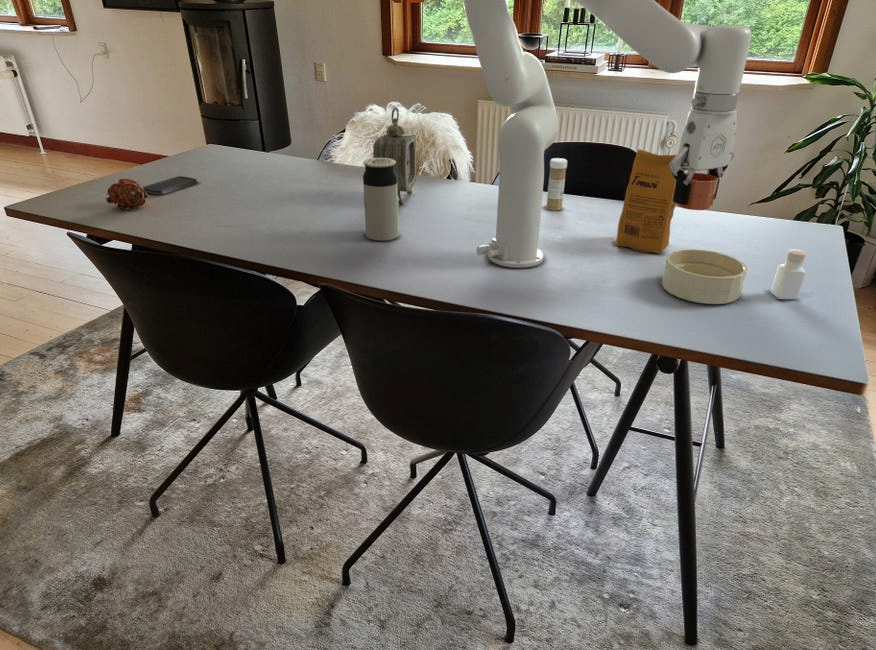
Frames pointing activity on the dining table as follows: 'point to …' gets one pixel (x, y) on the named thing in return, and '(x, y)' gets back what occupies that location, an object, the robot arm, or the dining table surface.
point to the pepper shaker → (789, 276)
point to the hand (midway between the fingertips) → (694, 199)
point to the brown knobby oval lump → (126, 194)
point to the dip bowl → (701, 192)
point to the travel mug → (380, 199)
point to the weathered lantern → (399, 154)
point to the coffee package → (648, 204)
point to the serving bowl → (704, 276)
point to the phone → (169, 185)
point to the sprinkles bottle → (556, 183)
